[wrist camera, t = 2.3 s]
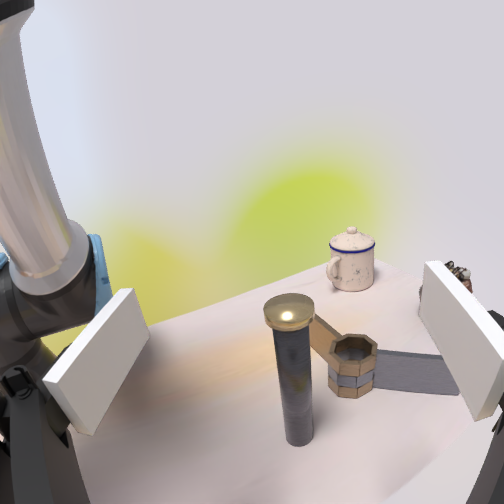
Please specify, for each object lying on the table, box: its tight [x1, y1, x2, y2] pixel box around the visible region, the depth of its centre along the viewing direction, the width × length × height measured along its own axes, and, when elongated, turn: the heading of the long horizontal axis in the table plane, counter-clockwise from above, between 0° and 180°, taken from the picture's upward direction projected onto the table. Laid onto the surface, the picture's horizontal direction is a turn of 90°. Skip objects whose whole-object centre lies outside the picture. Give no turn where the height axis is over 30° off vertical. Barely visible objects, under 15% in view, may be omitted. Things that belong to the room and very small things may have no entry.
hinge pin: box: [263, 293, 315, 446], centre depth 28 cm, size 4×4×18 cm
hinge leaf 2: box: [328, 348, 460, 395], centre depth 34 cm, size 18×6×6 cm, turn 62°
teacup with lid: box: [326, 227, 375, 292], centre depth 60 cm, size 12×9×12 cm
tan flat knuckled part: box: [309, 314, 378, 398], centre depth 42 cm, size 18×6×6 cm, turn 22°
